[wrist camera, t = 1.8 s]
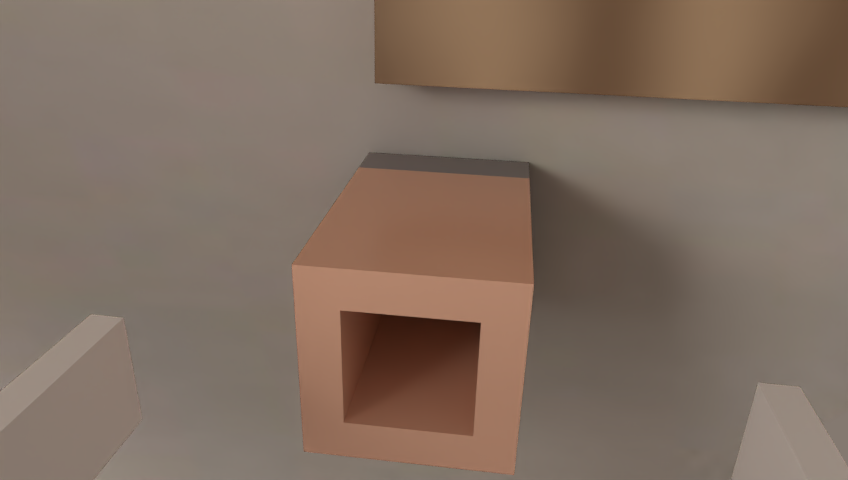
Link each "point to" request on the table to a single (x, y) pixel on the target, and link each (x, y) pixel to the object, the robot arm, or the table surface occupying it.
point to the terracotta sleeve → (418, 313)
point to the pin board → (621, 47)
